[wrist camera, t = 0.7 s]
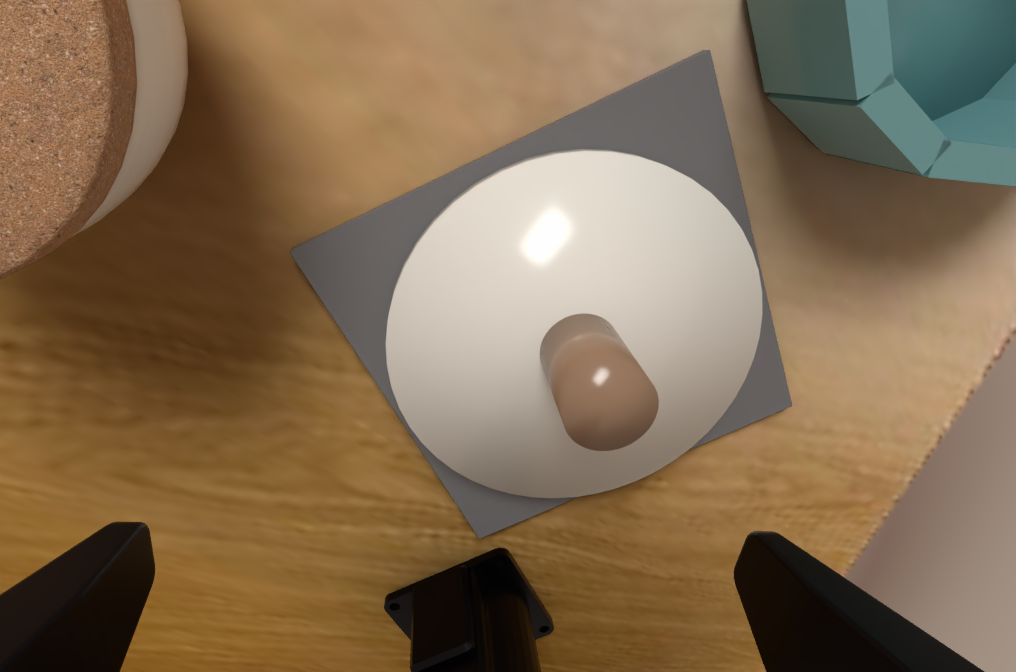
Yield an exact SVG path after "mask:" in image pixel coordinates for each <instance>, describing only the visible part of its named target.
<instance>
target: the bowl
mask: <svg viewBox="0 0 1016 672" xmlns="http://www.w3.org/2000/svg"><path fill="white" fill-rule="evenodd" d="M747 5H748V10H749V16H750V21H751V26H752V31H753V36H754V41H755V46H756V51H757V57H758V62H759V67H760V72H761V77H762V82H763V87H764V92H769V93H770V95H769V96H768V97H767V98H768V99H769V100H770V101H771V102H772V103H773V104H774V105H775V106H776V107H777V108H778V109H779V110H780V111H781V112H782V113H783V114H784V115H785V116H786V117H787V118H788V119H789V120H790V121H791V122H792V123H793V124H794V125H795V126H796V127H797V128H798V129H799V130H800V131H801V132H802V133H803V134H804V135H805V136H806V137H807V138H808V139H809V140H810V141H811V142H812V143H813V144H814V145H815V146H816V147H817V148H818V149H819V150H820V151H821V152H825V153H826V154H829V155H833V156H837V157H842V158H846V159H850V160H855V161H859V162H863V163H868V164H872V165H876V166H881V167H885V168H889V169H894V170H898V171H902V172H907V173H911V174H915V175H920V176H924V177H929V178H939V179H949V180H958V181H968V182H978V183H988V184H998V185H1007V186H1016V0H747Z"/></svg>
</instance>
